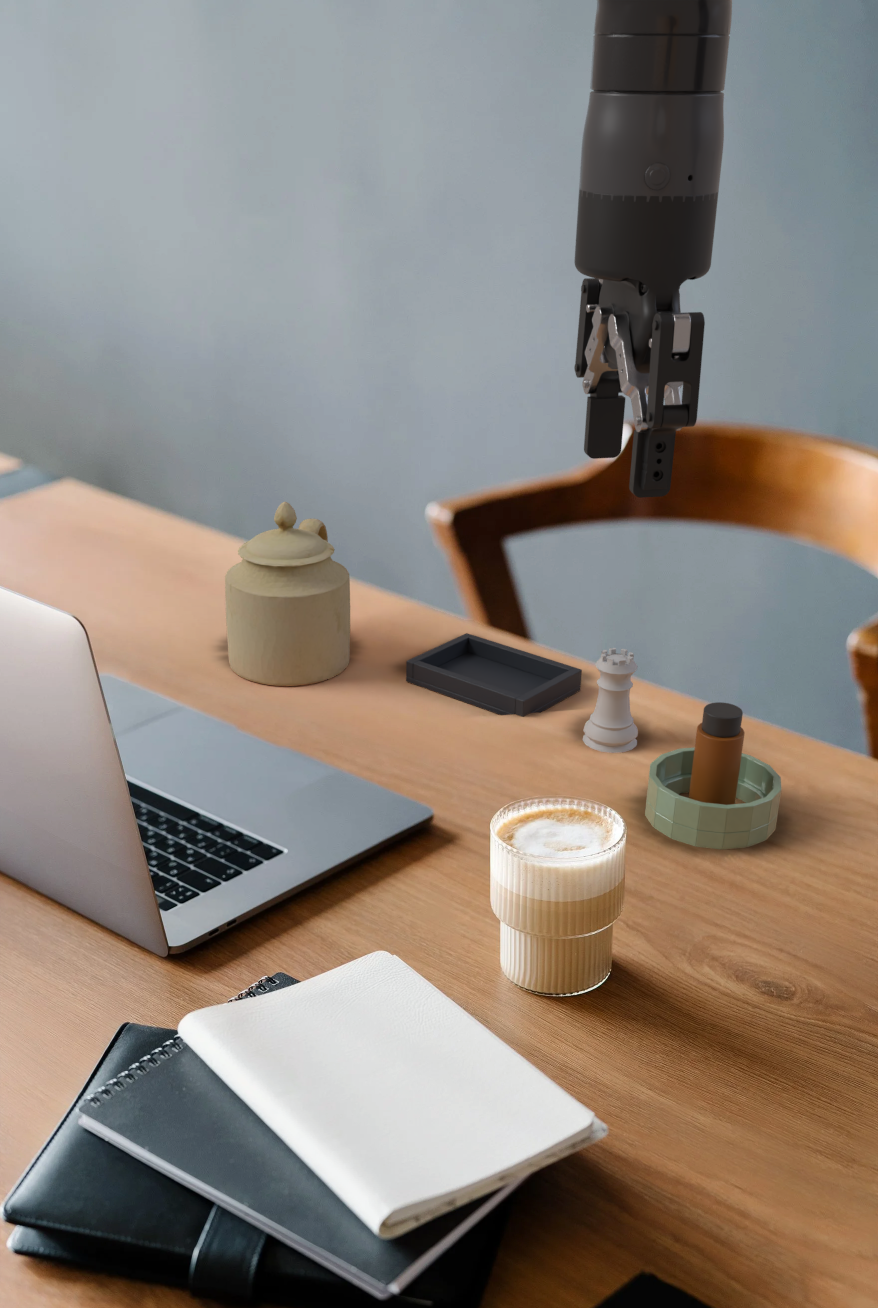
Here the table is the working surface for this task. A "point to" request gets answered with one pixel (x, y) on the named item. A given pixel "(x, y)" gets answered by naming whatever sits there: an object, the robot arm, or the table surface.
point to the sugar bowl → (288, 606)
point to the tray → (493, 676)
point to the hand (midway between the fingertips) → (624, 475)
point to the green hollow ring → (712, 804)
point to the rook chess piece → (613, 705)
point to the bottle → (717, 754)
